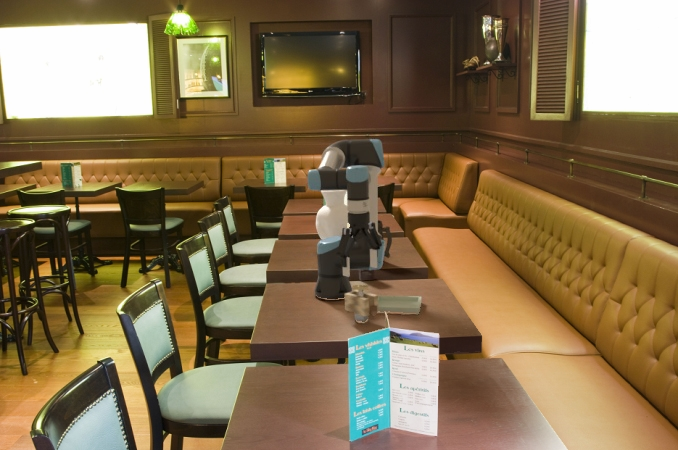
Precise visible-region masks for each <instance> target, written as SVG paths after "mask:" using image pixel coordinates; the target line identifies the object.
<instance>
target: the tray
mask: <svg viewBox="0 0 678 450" xmlns="http://www.w3.org/2000/svg"><path fill="white" fill-rule="evenodd" d="M377 295H378V311H380V312H384V311H386V312H388V311H390V312H403V313H416V314H419V315H420V313H419V312H421V308H422V304H421V303H422V300H423V299H422V296H417V295H415V296H414V295H387V294H386V295H379V294H377ZM420 307H421V308H420ZM383 315H389V314H388V313H387V314H385V313H384V314H383Z"/></svg>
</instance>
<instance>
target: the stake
mask: <svg viewBox="0 0 678 450" xmlns="http://www.w3.org/2000/svg"><path fill="white" fill-rule="evenodd" d="M351 287H352V291H354V290H358V296H362V297H364V293H363V291H368V290H369V289H370V285H368V284H367V285H366V284H353V285H351ZM369 316H370V315H368V316H362V315H359V314H356V313H354V321H355V320H357V321H362V322H365V321H366V320H367V319H368V318H370V317H369Z"/></svg>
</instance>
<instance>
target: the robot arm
mask: <svg viewBox="0 0 678 450" xmlns="http://www.w3.org/2000/svg"><path fill="white" fill-rule="evenodd" d="M383 149H384V148H383V143H382V141H381V140H380V139H378V138H375V139H374V138H373V139H372V138H368V139H367V138H365V139H363V138H362V139H342V140H339V141H335V142H333V143H332V144H330V145H329V146H327V147H326V148H324V151H323V152H322V154H321V161H320V164H319V166H318V168H315V169H309V170H308V172H307V188H308V189H309V190H310V191H318V192H321V191H325V190H347V191H346V196H347V197H346V205H347V210H348V211H349V212H348V223H349V224H350V227H349V228H343V229H342V236H333V237H328V238H325V239H321V240H319V241H318V242H317V244H316V259H317V280H316V284H315V288H314V296H315V295H317V296H318V297H321V298H327V299H338V298H344V297H345V295H344V294H345V293H348V292H351V291H353V288H352V284H351V282H350V279H349V277H351V275H350V274H351V273H350V272H351V271H359V270H374V271H376V270H380V269H381V268H382V267H383V264H384V262H383V260H384V261H385V256H384V253H385V250H386V240H382V236H381V235H380V234H379V233H378V220H379V219H378V217H379V215H378V207H379V205H378V203H379V202H378V200H379V199H378V197H379V196H378V191H379V190H378V189H379V188H378V187H379V186H378V185H379V184H378V183H379V182H378V181H379V180H378V179H379V178H378V177H379V175H380V174H381V173H382V168H385V167H386V165H385V163H386V162H385V157H384V156H385V155H384V150H383Z"/></svg>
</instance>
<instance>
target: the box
mask: <svg viewBox="0 0 678 450" xmlns="http://www.w3.org/2000/svg"><path fill="white" fill-rule="evenodd" d="M358 279H359V280H360V282H362V281H372V280H373V281H374V280H375V270H358Z"/></svg>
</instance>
